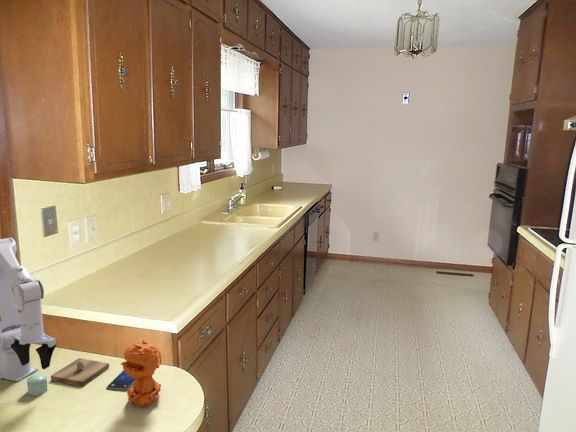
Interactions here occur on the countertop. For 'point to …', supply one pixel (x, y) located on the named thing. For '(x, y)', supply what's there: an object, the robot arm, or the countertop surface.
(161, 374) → the countertop surface
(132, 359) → the toy dinosaur
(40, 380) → the cap
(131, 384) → the smartphone
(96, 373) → the stub block
